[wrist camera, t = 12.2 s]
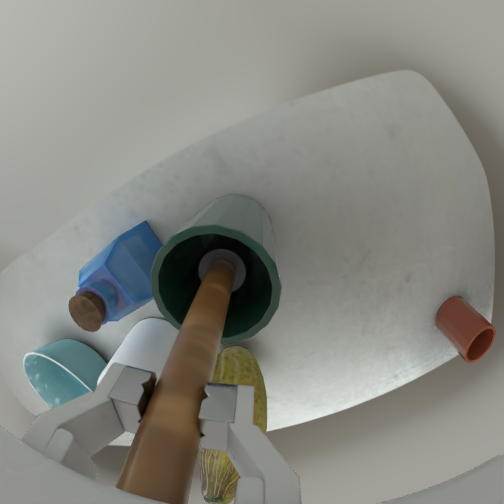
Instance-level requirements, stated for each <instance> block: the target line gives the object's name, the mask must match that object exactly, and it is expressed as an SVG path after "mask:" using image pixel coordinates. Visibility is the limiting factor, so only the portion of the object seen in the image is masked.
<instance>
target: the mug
mask: <svg viewBox="0 0 504 504" xmlns="http://www.w3.org/2000/svg"><path fill="white" fill-rule="evenodd" d="M178 333H179V330H177V329H176V328H174V327H173V326H172V325H171V324H170V322H168V321H165V320H162V319H157V318H149V319H144V320H141V321H140V322H138V323H137V324H136V325H134V327H133V328H132V329H131V330H130V332H129V333H128V335H127V336H126V337H125V339H124V340H123V342H122V343H121V345H120V346H119V348H118V349H117V351H116V352H115V354H114V355H113V357H112V358H111V360H110V361H109V363H108V364H107V366H106V368H105V369H104V370H103V371H102V373H101V374H100V376H99V379H98V382H97V386H98V384H99V383H100V381H101V380H102V378H103V377H104V375H105V373H106V372H107V370H108V369H109V367H110V366H111V364H113V363H114V362H116V363H120V364H123V365H128V366H132V367H135V368H139V369H143V370H147V371H151V372H154V373H156V376H157V381H158V379H159V376H160V374H161V372H162V369H163V367H164V365H165V362H166V360H167V358H168V356H169V353H170V351H171V349H172V346H173V344H174V342H175V340H176V337H177V335H178ZM156 383H157V382H156ZM155 385H156V384H155Z"/></svg>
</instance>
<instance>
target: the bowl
mask: <svg viewBox="0 0 504 504" xmlns="http://www.w3.org/2000/svg"><path fill="white" fill-rule="evenodd" d="M106 366H107V364H106V362H105V361H104V359H103V358H102V357H101V356H100V355H99V354H98V353H97V352H96V351H94V350H93V349H92V348H90V347H89V346H87V345H85V344H83V343H81V342H78V341H76V340H72V339H62V340H59V341H56V342H54V343H51V344H48V345H46V346H43V347H41V348H38V349H36V350H34V351H31V352H29V353H27V354H26V355H25V356H24V359H23V367H24V371H25V374H26V377H27V379H28V381H29V382H30V384H31V386H32V387H33V389H34V390H35V391H36V393H37V394H38V395H39V396H40V398H41V399H42V400H43V401H44V402H45V403H46V404H47V405H48V406H49V407H50V408H51V409H53V408H55V407H57V406H59V405H62V404H64V403H66V402H68V401H71V400H73V399H75V398H77V397H79V396H81V395H83V394H86V393H88V392H94V391H95V389H96V388H97V382H98V379H99V376H100V374H101V373H102V371H103V370H104V369H105V368H106Z"/></svg>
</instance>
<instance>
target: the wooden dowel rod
mask: <svg viewBox="0 0 504 504" xmlns="http://www.w3.org/2000/svg"><path fill="white" fill-rule="evenodd" d="M249 251H250V248H249V247H248V246H246V245H245V244H243V243H242V242H240V241H239V240H238V239H234V238H230V237H226V236H223V235H219V234H216V235H215V236H214V238H213V240H212V241H211V243H210V245H209V246H208V248H207V250H206V251H205V253H204V255H203V256H202V258H201V260H200V262H199V265H198V275H199V278H200V280H201V282H202V283H201V285H200V287H199V289H198V291H197V293H196V296H195V298H194V300H193V302H192V304H191V306H190V309H189V311H188V313H187V315H186V317H185V320H184V322H183V324H182V326H181V328H180V331H179V333H178V335H177V337H176V340H175V342H174V344H173V346H172V349H171V351H170V353H169V356H168V358H167V360H166V362H165V365H164V367H163V369H162V372H161V374H160V376H159V379H158V381H157V383H156V386H155V388H154V390H153V393H152V395H151V398H150V400H149V402H148V405H147V407H146V410H145V412H144V415H143V417H142V420H141V422H140V424H139V427H138V429H137V432H136V434H135V437H134V440H133V442H132V445H131V447H130V450H129V452H128V455H127V458H126V460H125V463H124V465H123V468H122V471H121V474H120V476H119V479H118V482H117V484H116V487H115V488H117V489H120V490H123V491H126V492H129V493H132V494H135V495H138V496H142V497H145V498H149V499H152V500H156V501H160V502H164V503H168V504H188V499H189V494H190V489H191V483H192V478H193V473H194V468H195V463H196V458H197V453H198V448H199V443H200V438H201V433H202V432H200V431H199V420H198V417H199V413H200V408H201V404H202V401H203V400H204V399H205V387H206V383H207V381H210V382H212V380H213V376H214V371H215V366H216V361H217V357H218V352H219V347H220V343H221V338H222V334H223V329H224V324H225V320H226V315H227V311H228V306H229V302H230V297H231V293H232V292H234V291H236V290H238V289H239V288H240V287H241V286H242V285H243V283H244V281H245V279H246V274H247V266H248V259H249Z"/></svg>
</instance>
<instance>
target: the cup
mask: <svg viewBox="0 0 504 504" xmlns="http://www.w3.org/2000/svg"><path fill="white" fill-rule="evenodd" d="M216 234H219V235H223V236H226V237H230V238H234V239H238V240H239V241H240V242H242V243H243V244H245V245H246V246H248V247H249V248H250V251H249V259H248V266H247V274H246V279H245V281H244V283H243V285H242V286H241V287H240V288H239V289H238V290H236V291H234V292H232V293H231V297H230V302H229V306H228V311H227V315H226V320H225V324H224V329H223V334H222V338H221V343H220V344H225V343H235V342H238V341H241V340H244V339H247V338H250V337H252V336H254V335H255V334H256V333H258V332H259V331H260V330H261V329H263V328H264V327H265V326H267V324H268V323H269V322H270V320H271V318H272V317H273V315H274V314H275V312H276V310H277V309H278V306H279V300H280V294H281V280H280V273H279V267H278V260H277V254H276V247H275V241H274V235H273V229H272V225H271V221H270V218H269V216H268V214H267V212H266V211H265V209H264V208H263V207H262V206H261V205H260V204H259V203H258V202H256V201H255V200H253V199H251V198H249V197H247V196H243V195H237V194H232V195H225V196H222V197H219V198H217V199H215V200H214V201H212V202H210V203H209V204H208V205H207V206H206V207H204V208H203V209H202V210H201V211H200V212H199V213H197V214H196V215H195V216H194V217H193V218H192V219H191V220H189V221H188V222H187V223H186V224H185V225H184V226H183V227H182V228H180V229H179V230H178V231H177V232H176V233H175V234H174V235H173V236H171V237H170V239H169V240H168V241H167V242H166V243H165V244H164V245H163V246H162V248H161V249H160V250H159V251H158V253H157V255H156V257H155V260H154V263H153V266H152V269H151V288H152V294H153V297H154V299H155V301H156V304H157V306H158V308H159V311H160V312H161V313H162V315H163V316H164V317H165V318H166V319H167V320H168V321H169V322H170V324H171V325H172V326H173V327H174V328H176V329H177V330H179V331H180V328H181V326H182V324H183V322H184V320H185V317H186V315H187V313H188V311H189V309H190V306H191V304H192V302H193V300H194V298H195V296H196V293H197V291H198V289H199V287H200V285H201V283H202V282H201V280H200V278H199V275H198V265H199V262H200V260H201V258H202V256H203V255H204V253H205V251H206V250H207V248H208V246H209V245H210V243H211V241H212V240H213V238H214V236H215V235H216Z"/></svg>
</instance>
